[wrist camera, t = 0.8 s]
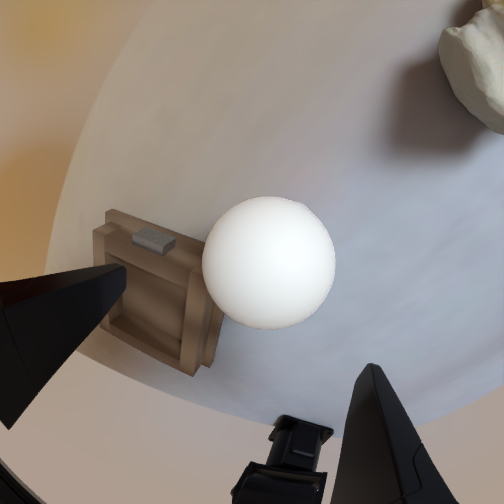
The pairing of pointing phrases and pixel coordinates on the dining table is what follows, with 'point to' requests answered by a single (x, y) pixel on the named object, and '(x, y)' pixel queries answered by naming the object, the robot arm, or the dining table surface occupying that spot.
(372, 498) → the robot arm
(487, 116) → the ceramic sculpture
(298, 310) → the lightbulb
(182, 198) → the dining table surface
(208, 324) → the bulb holder
